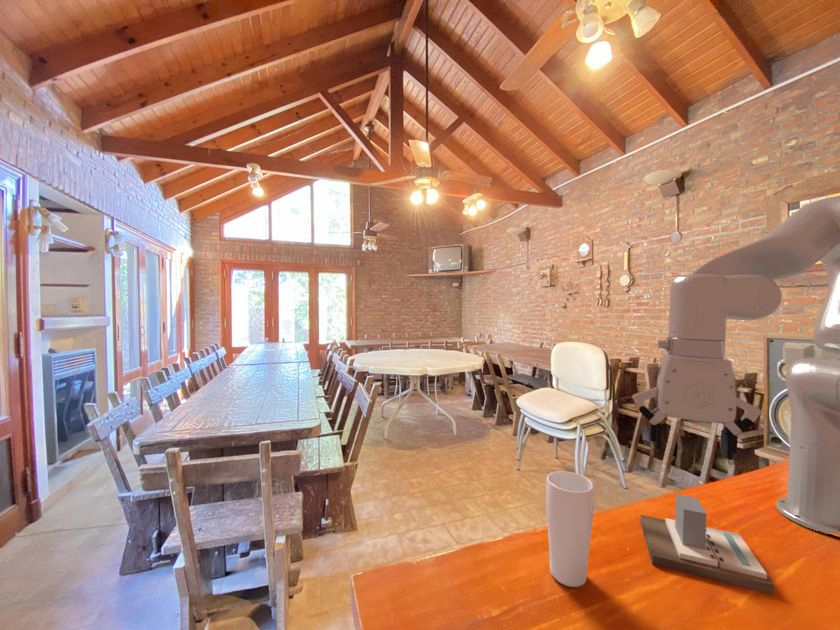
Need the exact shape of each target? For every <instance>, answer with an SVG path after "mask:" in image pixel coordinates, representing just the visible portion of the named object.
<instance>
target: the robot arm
mask: <svg viewBox="0 0 840 630" xmlns="http://www.w3.org/2000/svg"><path fill="white" fill-rule="evenodd" d="M819 261H820V262H821V265H822V266H823V269H824V271H825V273H826V275H827V280H828V288H827V292H826V295H825V299H824V301H823V304H822V307H821V309H820V312H819V314H818V318H817V320H816V324H815V327H814V330H813V336H812V337H813V343H814V345H815V347H817V348H818V349H820V350H822V351H823V352H826V353H828V354H829V353H830V354H835V355H840V195H836V196H832V197H825V198H822V199H818V200H815V201H812V202H809V203H807V204H805V205H803V206H802V207H800V208H799V209H797V210H796V211H795V212H794V213H792V214H791V215H790V216H789V217H787V218H786V219H785V220H783V221H782V222H781V223H780V224H779V225H777V226H776V227H775V228H773V229H772V230H771V231H770V232H769V233H768V234H767V235H765V236H764V237H761V238H759V239H757V240H755V241H752V242H750V243H747V244H745V245H742V246H740V247H738V248H736V249H734V250H733V249H732V250H731V251H728V252H726V253H724V254H721V255H718V256H717V257H715V258H713V259H711V260H709V261H707V262H706V263H705V262H704V264H702V265H700V266H699V267H698V268H696V270H694V271H693V272H691V273H690V274H684V275H678V276H676V277H674V278H673V279H672V281H671V283H670V287H669V288H670V289H669V290H670V291H669V309H668V311H669V313H668V333H667V334H668V335H667V337H666V338H665V339H663V340H658V341H657V348H658V349H662V350H665V351H666V352H667V354H663V355H662V358H661V361H660V364H659V369H658V373H657V374H658V375H657V379H656V386H655V387H652V388H650V389H646V390H642V391H640V392H636V393H634V394H632V395H631V396H632V400H633V401H634V403H635V405H636V407H637V409H638V410H639V413H640V414H642V416H644V418H645V419H646V420H647V421H648V422H649V426H648V440H649V442H652V444H653V446H654V448H655V449H657V450H659V449H661V448H662V431H663V429H662V424H660V423H661V421H663V420H664V419H665V418H666V417H668V418H673V419H681V420H688V421H697V422H698V421H699V422H706V423H713V424H722V425H723V426H724V428H722V430H721V431H720V433H721V434H720V447H719V448H720V453H721V455H723V456H724V458H726V460H729V461H733V460H734V454H737V453H738V437H739V436H742V434H743V432H744V431H747V430H748V429H749V428H751V427H752V426H753V425H754V422H756V420H757V419H758V418H759V417H760V415H761V414H762V409H760V408H759V407H756V406H754V405H752V404H750V403H749V402H747V401H745V400H743V399H741V398H739V397H737V396H736V395H737V394H736V382H735V374H734V369H733V363H732V361H731V360H728V359H725V354H726V334H727V320H735V321H736V320H737V321H755V320H760V319H763V318H764V319H765V318H766V317H769V316H771V315H772V314H774V313H775V312H776V311H777V310H778V309H779V307H780V306H781V303H782V300H783V299H782V297H783V296H782V295H783V294H782V290H781V288H780V286H779V285H778V283H777V282H775V281H778V280H782V279H787V278H790V277H794V276H797V275H800V274H802V273H805V272H806V271H808V270H810V269H811V268H812V267H813V266H815V265H816V264H817V263H818V262H819ZM785 385H786V389H787V395H788V399H789V404H790V405H789V406H790V439H789V457H788V458H789V459H788V479H787V480H788V482H787V484H786V485H787V496H783V497H779V498H778V499H777V500H776V508H777V510H778V511H779V512H780V513H781V514H782V515H783V516H785V517H786V518H787V519H789V520H790V521H792V522H795V523H797V524H798V525H800V526H803V527H805V528H807V529H809V528H810V530H812V529H813V530H812V531H815V530H816V531H815V532H817V531H821V532H824V533H835V534H840V358H833V357H832V358H831V357H816V356H815V357H814V356H811V357H804V358H800V359H797V360H795V361H794V362H792V363H791V364H790V365H789V366H788V368H787V370H786V373H785ZM652 398H653V399H654V398H655V400H654V401H655V406H656V407H655V408H654V409H653V410H652V411H651V410H649V409H648V407H646V404H645V401H647V400H650V399H652ZM737 407H738V408H739V409H741V410H743V411H744V412H743V415H742V416H740V417H739V418H737V419H736V417H737Z"/></svg>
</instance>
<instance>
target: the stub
mask: <svg viewBox="0 0 840 630" xmlns="http://www.w3.org/2000/svg"><path fill="white" fill-rule="evenodd" d="M674 513H675V516H674V519H672V518H669V517H668V518H667V517H665V518H664V520H665V523H666V525H667V528H668V530H669V533H670V535H671V538H672V540H673V543H674V545H675V548H676V550H677V553H678V555H679V558H683V559H687V560H691V561H695V562H699V563H703V564H708V565H712V566H716V567H718V561H717V559H716V557H715V555H714V553H713V552H712V550H711V548H710V546H709V544H708V542H707V541H706V527H707V512H706V511H705V509H704V507H703V506H702V504H701V502H700V501H699V499H698V498H697V497H693V496H690V495H689V496H687V495H682V494H678V493H677V494H675V512H674Z"/></svg>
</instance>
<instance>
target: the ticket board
mask: <svg viewBox="0 0 840 630" xmlns="http://www.w3.org/2000/svg"><path fill="white" fill-rule="evenodd" d="M639 518H640V520H639V521H640V526H641V531H642V532H643V536H644V539H645V543H646V546H647V547H646V548H647V551H648V554H649V558H650V561H651V565H652V566H657V567H659V568H665V569H668V570H673V571H676V572H681V573H685V574H688V575H692V576H697V577H700V578H704V579H709V580H712V581H715V582H718V583H719V582H720V583H724V584H728V585H732V586H736V587H740V588H742V589H743V588H744V589H748V590H752V591H756V592H759V593H764V594H767V595H772V596H775V589H776V586H775V584H774V582H773V580H772V579H771V578H770V577H769V575H768V573H767V572H766V570H765V569H764V568H763V566H762V565H761V563H760V562H759V560H758V559H757V558H756V556H755V555H754V553H753V552H752V551H751V549H750V547H749V546H748V545H747V543H746V542H745V540H744V539H743V537H742V536H741V534H740V533H737V532H733V531H727V530H722V529H717V528H713V527H708V526H706V541H707V542H708V544H709V546H710V548H711V550H712V552H713V553H714V555H715V557H716V559H717V561H718V567H716V566H712V565H708V564H703V563H699V562H695V561H691V560H687V559H683V558H679V555H678V553H677V550H676V548H675V545H674V543H673V540H672V538H671V535H670V533H669V530H668V528H667V525H666V523H665V519H664V518H663V519H662V518H658V517H654V516H653V517H652V516H649V515H648V516H646V515H643V514H640V517H639Z"/></svg>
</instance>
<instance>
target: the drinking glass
mask: <svg viewBox="0 0 840 630" xmlns="http://www.w3.org/2000/svg"><path fill="white" fill-rule="evenodd" d="M594 493H595V492H594V483H593V482H592V481H591V480H590V479H589V478H587V477H585V476H584V475H581V474H579V473H575V472H572V471H565V470H556V471H553V472H550V473H549V474H547V476H546V488H545V511H546V520H547V521H546V523H547V524H546V525H547V537H548V549H549V551H548V552H549V570H550V574H551V576H552V577H553V578H554V579H555V580H556V581H557V582H558V583H560V584H562V585H564V586H566V587H569V588H570V587H571V588H578V587H582V586H583V585H584V584H586V582H587V578H588V562H589V555H590V545H591V537H592V529H593V522H594V521H593V520H594V510H595V509H594V508H595V495H594Z"/></svg>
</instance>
